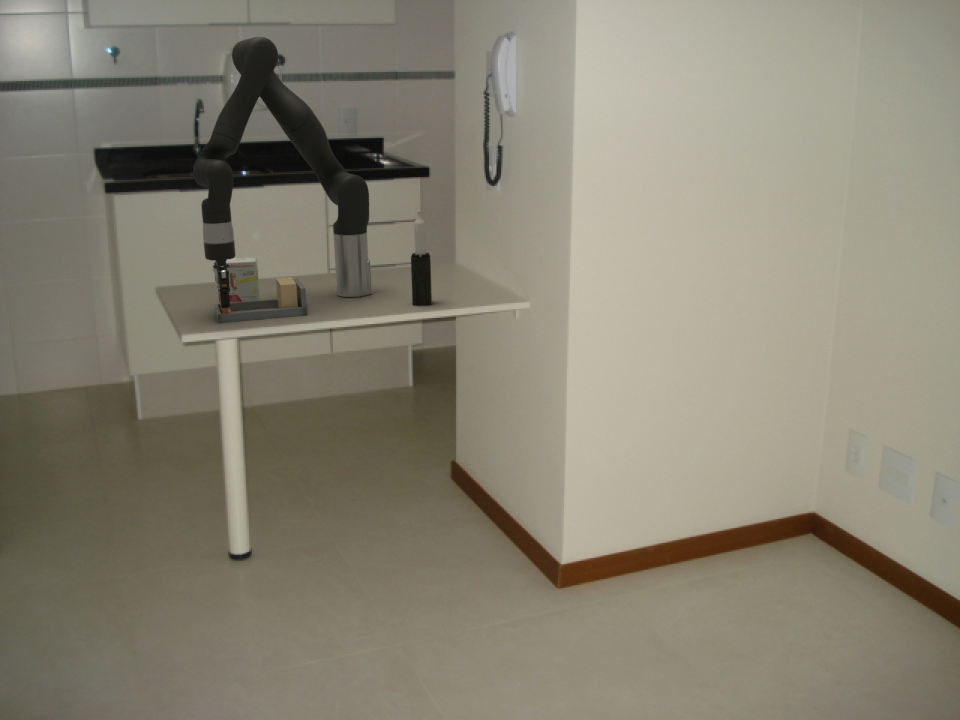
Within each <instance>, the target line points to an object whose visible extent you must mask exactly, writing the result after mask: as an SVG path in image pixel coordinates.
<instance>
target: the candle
mask: <svg viewBox="0 0 960 720" xmlns="http://www.w3.org/2000/svg"><path fill="white" fill-rule="evenodd" d="M421 213H422V212H421V210H420V209H418V210H417V214H416V215H417V217H416V219H415V221H414V222H413V233H414V237H413V238H414V252H412V253H411V256H410V269H411V270H410V272H411V273H410V274H411V298H412V299H411V300H412V306H415V305H416V306H431V305H432V304H433V303H432V301H433V300H432V299H433V297H432V269H431V268H432V267H431V266H432V265H431V254H430V253H429V252H427V242H426V237H427V235H426V222H425V221H424V219H423V217H422V214H421Z"/></svg>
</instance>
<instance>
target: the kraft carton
mask: <svg viewBox="0 0 960 720" xmlns="http://www.w3.org/2000/svg"><path fill="white" fill-rule="evenodd" d="M275 281H276V283H275V284H276V293H277V294H276V296H277V298H276V299H278V307H277V309H283V308H295V307H298V301H297V287H296V283H295V281H294V278H292V276H291V277H290V276H288V277H278V278H277V277H276V278H275Z"/></svg>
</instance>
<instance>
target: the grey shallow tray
mask: <svg viewBox="0 0 960 720" xmlns="http://www.w3.org/2000/svg"><path fill="white" fill-rule="evenodd" d="M293 280H294V281H295V283H296V287H297V301H298V307H295V308H283V309H279V308H278V298H268V299H260V300H254V301H242V302H231V303H230V310H231V313H226V314H221V306H220V302H219V303H214V305H213V306H214V313H215V316H216V319H217V322H218V323H219V324H220V323H222V324H223V323H230V322H231V323H232V322H243V321H254V320H264V319H266V318H267V319H276V318H275V317H278V318H289V317H297V316H299V317H300V316H307V315H308V305H307V303H308V302H307V291H306V290H307V289H306V287H305V286H304V284H303V283H302V282H301V280H300V279H299V278H293ZM266 308H268V309H266ZM269 308H272V309H269ZM273 308H274V309H273ZM256 309H263V310H256ZM243 310H245V311H243ZM246 310H249V311H246ZM251 310H252V311H251ZM232 311H234V312H232ZM235 311H236V312H235ZM237 311H240V312H237ZM288 316H289V317H288Z"/></svg>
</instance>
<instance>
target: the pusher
mask: <svg viewBox="0 0 960 720" xmlns="http://www.w3.org/2000/svg"><path fill="white" fill-rule="evenodd" d="M221 286H222V288H227V285H226V284H225V285H221ZM219 295H220V293H218V296H219ZM219 303H220V306H221V300H220V302H219ZM226 313H232V311H231V310H230V307H229V308H222V307H221V314H226Z"/></svg>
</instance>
